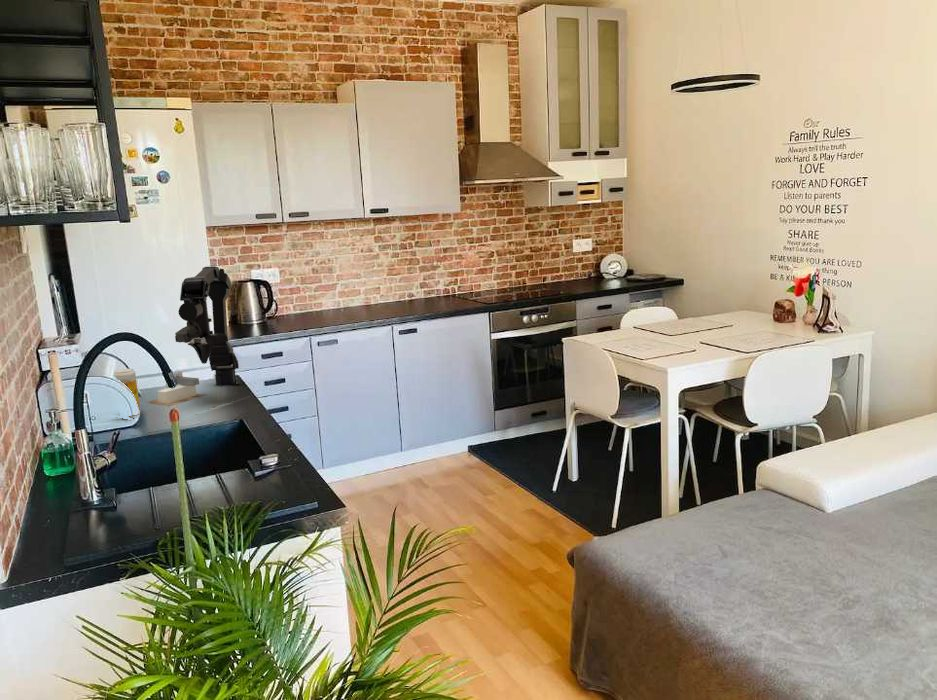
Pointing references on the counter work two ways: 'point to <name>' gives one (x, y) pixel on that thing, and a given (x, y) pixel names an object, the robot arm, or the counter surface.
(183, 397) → the block
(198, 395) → the walnut board
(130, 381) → the beer glass
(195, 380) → the clamp bar
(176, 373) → the bolt bracket
